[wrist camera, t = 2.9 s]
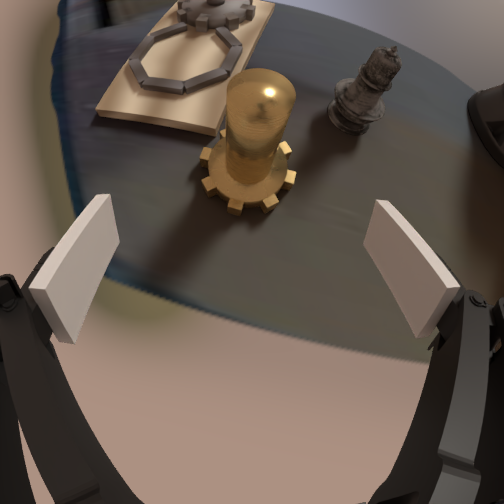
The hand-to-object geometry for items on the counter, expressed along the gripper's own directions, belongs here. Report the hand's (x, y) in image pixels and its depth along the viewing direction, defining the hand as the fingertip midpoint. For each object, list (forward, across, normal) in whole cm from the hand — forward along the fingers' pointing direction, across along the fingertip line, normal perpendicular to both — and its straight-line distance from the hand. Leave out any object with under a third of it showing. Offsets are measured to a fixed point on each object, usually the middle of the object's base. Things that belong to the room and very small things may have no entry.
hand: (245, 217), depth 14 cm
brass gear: (+14, +1, -3) cm, 14 cm away
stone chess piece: (+20, +12, +3) cm, 24 cm away
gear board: (+27, -5, +10) cm, 29 cm away
